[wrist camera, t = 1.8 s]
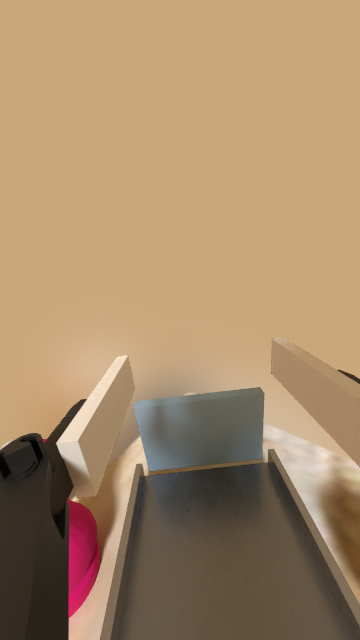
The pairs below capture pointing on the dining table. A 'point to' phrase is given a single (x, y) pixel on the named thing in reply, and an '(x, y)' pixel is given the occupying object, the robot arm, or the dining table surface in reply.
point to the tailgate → (201, 428)
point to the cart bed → (225, 561)
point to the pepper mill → (80, 553)
